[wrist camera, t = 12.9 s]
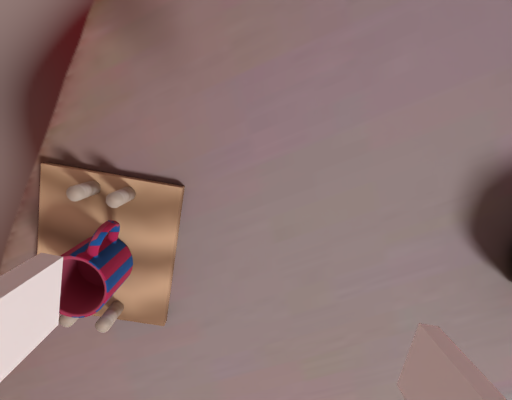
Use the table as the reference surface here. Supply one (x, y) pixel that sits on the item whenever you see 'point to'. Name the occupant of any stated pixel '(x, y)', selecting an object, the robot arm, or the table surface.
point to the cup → (94, 271)
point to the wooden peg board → (131, 233)
